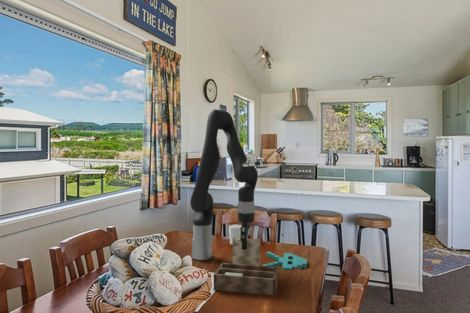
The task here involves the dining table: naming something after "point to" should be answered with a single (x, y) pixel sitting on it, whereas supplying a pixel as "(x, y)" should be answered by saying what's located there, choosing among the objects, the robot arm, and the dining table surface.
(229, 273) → the sage offcut
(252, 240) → the birch panel
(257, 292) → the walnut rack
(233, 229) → the white cup
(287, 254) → the alien figure
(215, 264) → the dining table surface
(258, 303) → the dining table surface
